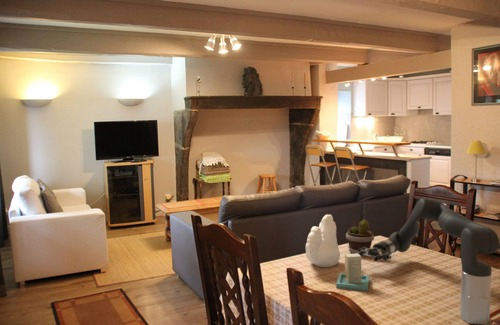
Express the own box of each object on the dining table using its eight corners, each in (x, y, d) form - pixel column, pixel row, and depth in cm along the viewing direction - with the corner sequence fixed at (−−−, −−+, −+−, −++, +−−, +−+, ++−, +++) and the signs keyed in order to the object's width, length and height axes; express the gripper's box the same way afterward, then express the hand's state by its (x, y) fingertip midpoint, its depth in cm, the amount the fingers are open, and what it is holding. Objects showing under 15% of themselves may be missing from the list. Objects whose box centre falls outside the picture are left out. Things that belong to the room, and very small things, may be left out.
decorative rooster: (322, 256, 222) (322, 210, 219) (347, 264, 210) (347, 215, 207) (289, 267, 206) (289, 217, 203) (314, 276, 194) (314, 223, 191)
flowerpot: (340, 250, 231) (340, 214, 230) (364, 247, 236) (365, 212, 234) (354, 258, 218) (354, 220, 216) (379, 255, 222) (380, 218, 220)
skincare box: (358, 279, 187) (359, 253, 186) (361, 283, 182) (362, 256, 181) (344, 280, 186) (344, 253, 185) (347, 284, 182) (347, 256, 181)
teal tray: (367, 291, 176) (367, 286, 176) (336, 288, 180) (336, 283, 180) (369, 280, 188) (369, 275, 188) (339, 277, 192) (339, 272, 192)
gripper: (370, 238, 207) (352, 245, 196) (398, 244, 197) (381, 252, 186) (370, 253, 208) (352, 261, 196) (397, 259, 198) (380, 268, 186)
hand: (366, 256), depth 191 cm, fingers open, 8 cm apart
